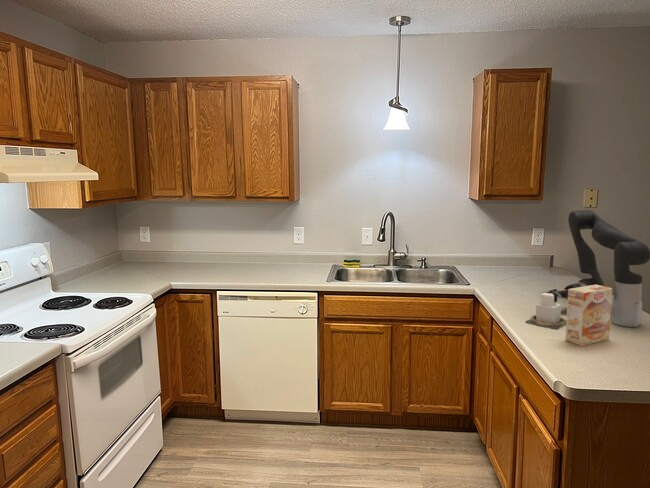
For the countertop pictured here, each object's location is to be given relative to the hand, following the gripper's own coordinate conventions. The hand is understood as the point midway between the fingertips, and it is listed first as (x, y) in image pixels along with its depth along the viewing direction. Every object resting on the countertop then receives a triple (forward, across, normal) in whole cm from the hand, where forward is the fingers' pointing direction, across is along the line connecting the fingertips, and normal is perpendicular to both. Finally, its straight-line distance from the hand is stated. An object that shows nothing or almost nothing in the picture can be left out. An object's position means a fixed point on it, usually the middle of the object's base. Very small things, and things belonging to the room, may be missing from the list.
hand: (560, 298), depth 198 cm
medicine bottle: (+10, 0, +8) cm, 13 cm away
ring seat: (+11, 0, +8) cm, 14 cm away
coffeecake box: (+21, +19, +9) cm, 29 cm away
